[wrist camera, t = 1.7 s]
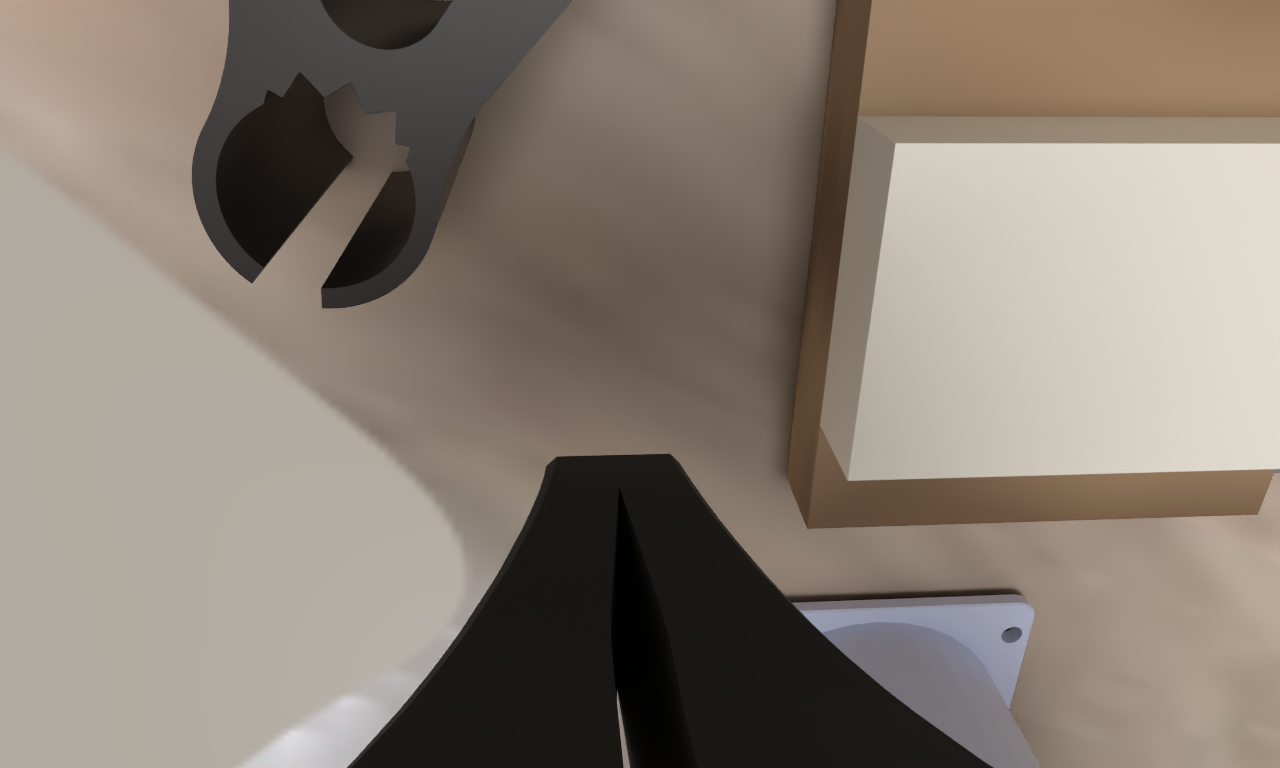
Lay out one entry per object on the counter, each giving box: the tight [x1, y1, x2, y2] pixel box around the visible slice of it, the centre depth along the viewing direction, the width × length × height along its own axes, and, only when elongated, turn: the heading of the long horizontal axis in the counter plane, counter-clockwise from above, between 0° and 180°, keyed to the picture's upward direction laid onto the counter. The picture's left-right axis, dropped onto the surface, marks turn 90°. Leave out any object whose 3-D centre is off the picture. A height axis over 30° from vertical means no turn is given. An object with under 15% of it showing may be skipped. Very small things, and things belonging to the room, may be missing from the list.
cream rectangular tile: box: [820, 116, 1280, 481], centre depth 17 cm, size 6×9×2 cm, turn 89°
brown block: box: [787, 0, 1280, 529], centre depth 18 cm, size 11×10×2 cm
